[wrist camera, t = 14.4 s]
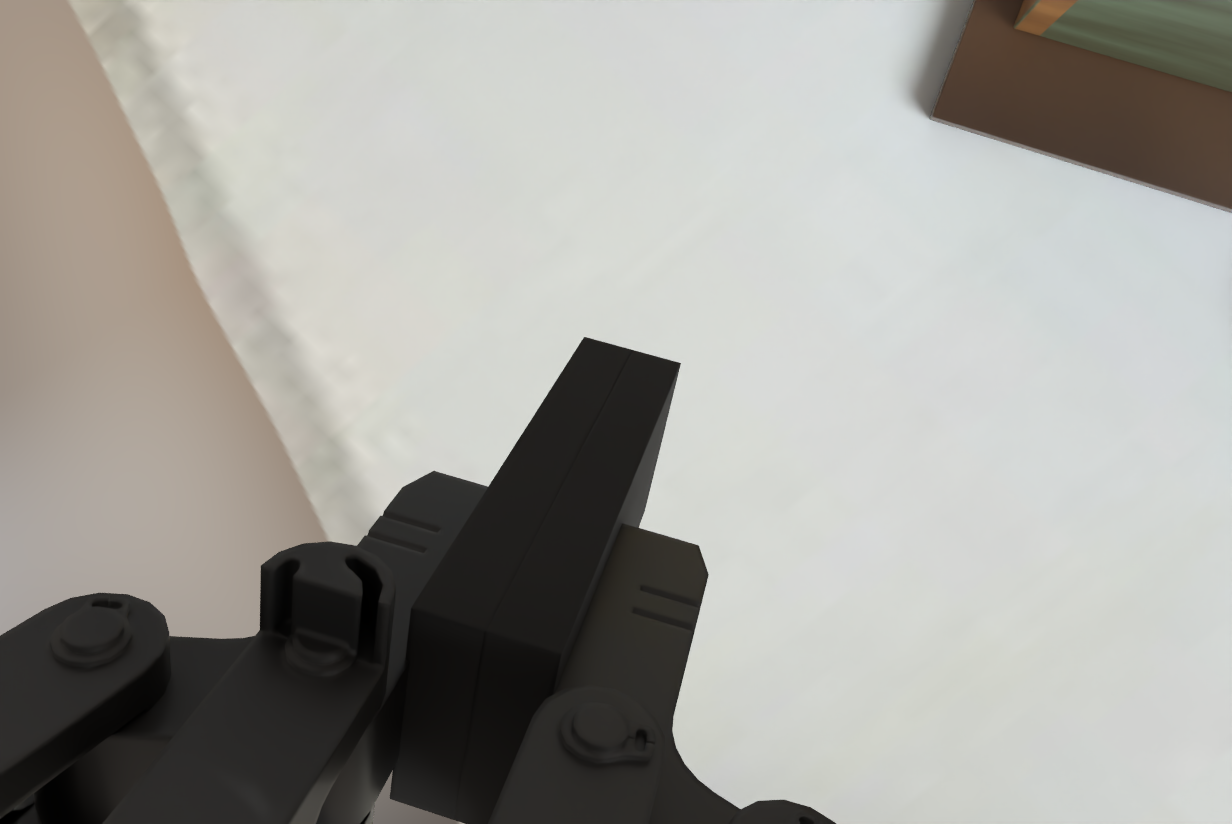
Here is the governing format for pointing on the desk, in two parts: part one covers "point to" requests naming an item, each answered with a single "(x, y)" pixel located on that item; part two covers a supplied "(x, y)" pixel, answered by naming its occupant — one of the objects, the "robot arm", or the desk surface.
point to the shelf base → (1088, 108)
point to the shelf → (1143, 33)
